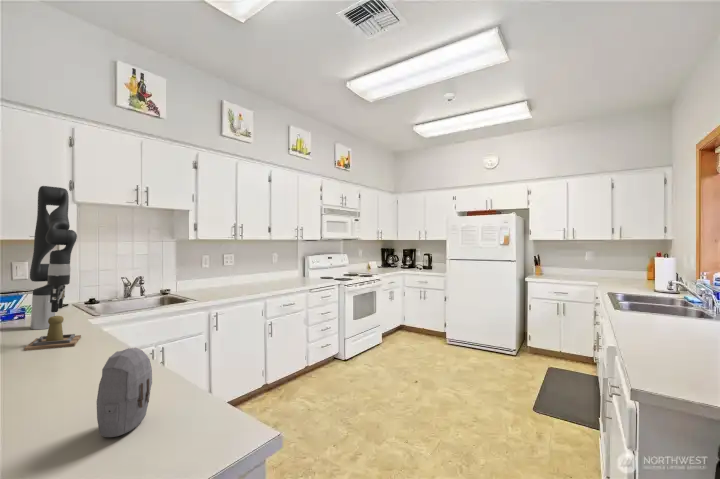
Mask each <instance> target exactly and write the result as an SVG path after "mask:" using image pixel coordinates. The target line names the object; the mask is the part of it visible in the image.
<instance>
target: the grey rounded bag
mask: <svg viewBox="0 0 720 479" xmlns="http://www.w3.org/2000/svg"><path fill="white" fill-rule="evenodd" d="M101 371H102V372H101V378H100V381H99V384H98V389H97V398H96V419H97V425H98V432H99V434H100V435H101V436H102V437H104V438H114V437H119V436H122V435H125V434H127V433H128V432H129V433H130V431H133V430H134V429H135V428H136V427H137V426H139V425H140V424H141V423H142V421H143V420H144V419H145V418H146V416H147V410H148V406H149V403H150V397H151V388H152V385H153V368H152V364H151V361H150V357H148V355H147V353H146V352H145V351H144V350H143V349H140V348H137V347H128V348H125V349H123V350H117V351H115V352H114V353H113V354H112V355H111V356H109V357H108V359H107V361H106V362H105V364H104V366H103V368H102V370H101Z"/></svg>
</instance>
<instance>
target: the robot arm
mask: <svg viewBox="0 0 720 479" xmlns="http://www.w3.org/2000/svg"><path fill="white" fill-rule="evenodd" d="M69 202H70V201H69V192H68V189H66V188H64V187H59V186H58V187H57V186H49V185H42V186H40V187H39V189H38V192H37V214H36V224H35V231H34V239H33V240H34V241H33V254H32V259H31V264H30V270H29V278H30V281H31V282H33V283H34V282H35V283H36V282H37V283H38V282H47V284H45V285H43V286H40V287H37V288H34V289H33V290H32V298H31V310H30V312H31V313H30V330H45V329H49V325H50V324H49V323H48V319H49V318H50V317H52V316H56V313H58V311H59V309H63V305H64V300H65V297H66V286H67V285H69V284H70V283H71V280H70V279H71V258H72V253H73V249H74V246H75V244H76V242H77V239H78V235H77V232H76V231H75V230H73V229H70V221H69V205H70V204H69ZM47 206H54V207H55V206H57V207H56V208H55V209H53V210H52V211H51V212H50V213H49V212H48V209H47ZM56 246H64V248H62V249H56V250H53V249H54V248H55V247H56ZM51 250H52V251H51ZM48 253H49V263H41V262H42V261H43V260H44V258H45V257H46V256H47V254H48Z"/></svg>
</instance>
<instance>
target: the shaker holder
mask: <svg viewBox="0 0 720 479" xmlns="http://www.w3.org/2000/svg"><path fill="white" fill-rule="evenodd" d="M46 338H47V335H42V336H39V337H37V338H35V339H34V340H33V341H31V342H30V343H28V345H26V346H25V347H24V351H25V352H27V351H36V350H51V349H59V348H60V349H61V348H72V347H75V346H76V345H77V344H78V342H79V341H80V340H81V338H82V335H81V334H79V335H78V334H75V333H70V334H63V340H60V341H47V342H46Z"/></svg>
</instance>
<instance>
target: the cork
mask: <svg viewBox="0 0 720 479" xmlns="http://www.w3.org/2000/svg"><path fill="white" fill-rule="evenodd" d="M48 323H49V324H50V325H49V328H47V329H48V331H47V335H46V336H47V338H46V342H47V341H60V340H63V335H64V334H63V333H64V332H63V323H64V317H63V316H62V315H55V316H52V317H50V318H49V319H48Z"/></svg>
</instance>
